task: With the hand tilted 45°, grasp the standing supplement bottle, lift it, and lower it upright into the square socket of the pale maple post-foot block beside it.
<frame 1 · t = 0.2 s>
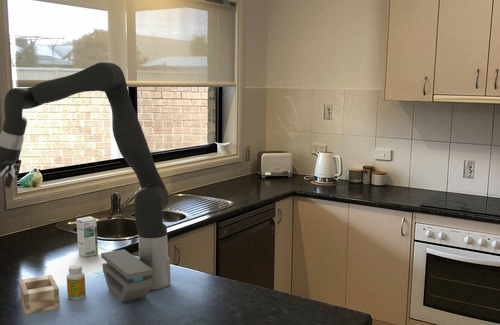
post socket: (39, 303, 168), on the countertop
supplement bottle: (76, 297, 173), on the countertop
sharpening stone: (127, 294, 175), on the countertop
syrup box: (88, 254, 217), on the countertop
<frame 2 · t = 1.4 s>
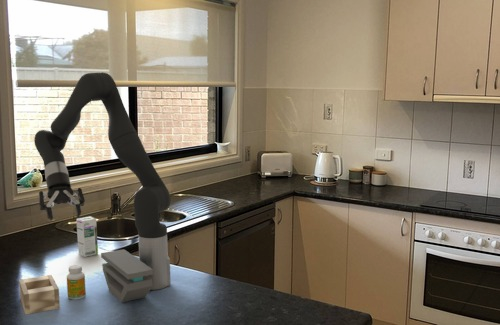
hand: (65, 217, 182), 23 cm above the countertop, tool tilted 45°, fingers open, 8 cm apart
nothing on the countertop moved.
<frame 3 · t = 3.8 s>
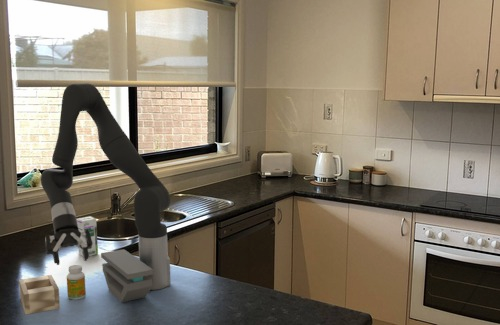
hand: (72, 261, 176), 10 cm above the countertop, tool tilted 45°, fingers open, 8 cm apart
nothing on the countertop moved.
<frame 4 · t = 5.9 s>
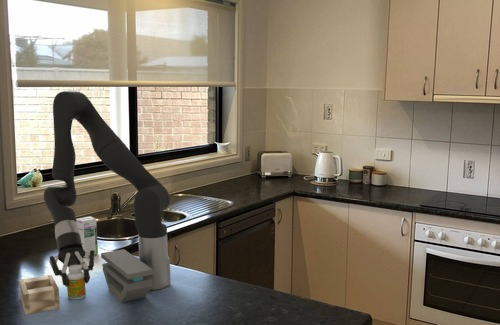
hand: (77, 283, 171), 5 cm above the countertop, tool tilted 45°, fingers closed on supplement bottle, 5 cm apart
supplement bottle: (76, 297, 173), on the countertop, touching gripper
everything else where it was.
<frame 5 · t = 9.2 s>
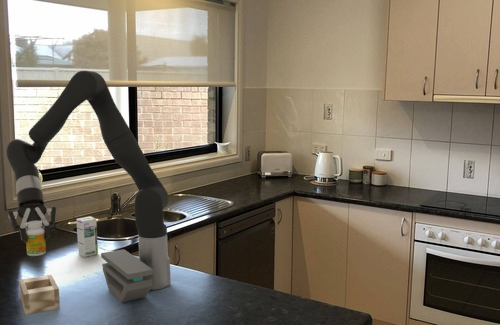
hand: (36, 239, 164), 20 cm above the countertop, tool tilted 45°, fingers closed on supplement bottle, 5 cm apart
supplement bottle: (36, 254, 167), point 15 cm above the countertop, touching gripper
everything else where it was.
when the fingers open (8 cm above the countertop, at t = 12.7 s): supplement bottle drops 2 cm, resting on post socket.
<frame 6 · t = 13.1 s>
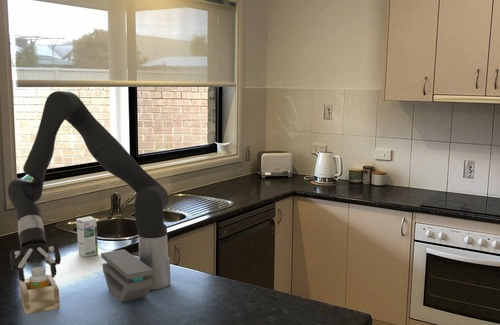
hand: (38, 278, 166), 8 cm above the countertop, tool tilted 45°, fingers open, 8 cm apart
supplement bottle: (40, 300, 169), point 1 cm above the countertop, touching post socket
everything else where it was.
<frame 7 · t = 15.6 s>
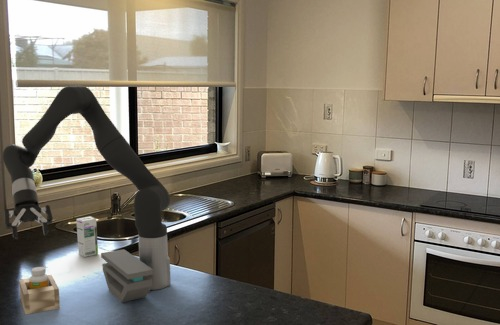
hand: (31, 236, 176), 18 cm above the countertop, tool tilted 45°, fingers open, 8 cm apart
nothing on the countertop moved.
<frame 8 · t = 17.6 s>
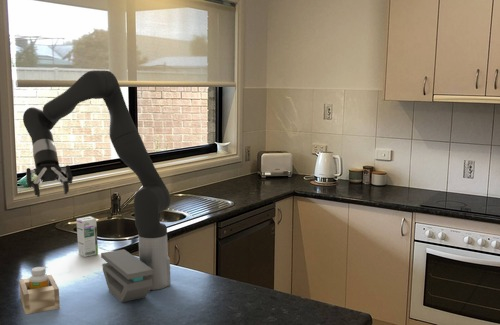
hand: (52, 194, 180), 31 cm above the countertop, tool tilted 45°, fingers open, 8 cm apart
nothing on the countertop moved.
at the end: supplement bottle 0.3 cm off-centre on the post socket, point 0.8 cm above the post socket's base; supplement bottle tilted 0°; the gripper is holding nothing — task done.
